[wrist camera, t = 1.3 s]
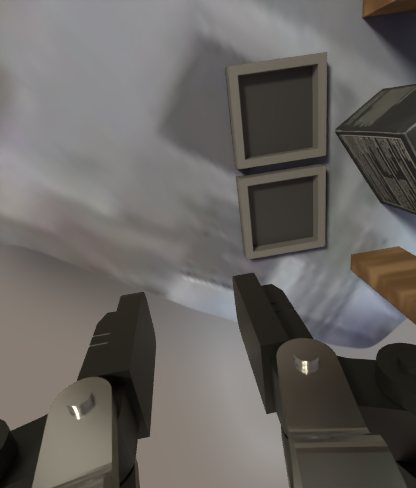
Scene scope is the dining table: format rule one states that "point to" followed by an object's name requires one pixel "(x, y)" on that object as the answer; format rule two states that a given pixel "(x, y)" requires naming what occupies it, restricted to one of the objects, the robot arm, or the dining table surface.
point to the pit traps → (280, 151)
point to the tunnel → (393, 259)
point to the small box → (386, 145)
